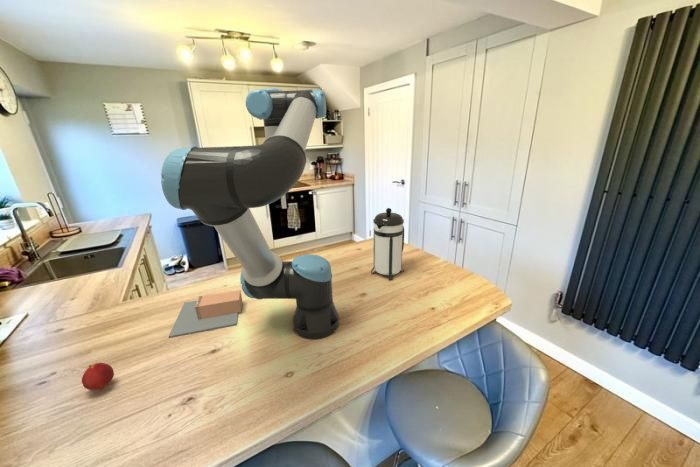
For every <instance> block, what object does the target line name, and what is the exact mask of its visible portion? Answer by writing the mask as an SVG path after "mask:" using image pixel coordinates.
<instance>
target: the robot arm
mask: <svg viewBox="0 0 700 467" xmlns="http://www.w3.org/2000/svg"><path fill="white" fill-rule="evenodd" d="M326 99H327V98H326V94H325V92H324V91H323V90H322V89H313V88H311V89H302V90H301V89H299V90H282V89H280V88H276V87H275V88H274V87H272V88H271V87H268V88H262V89H253V90H251V91H250V92H248V93H247V95H246V97H245V107H246V110H247V112H248V114H250V115H251V117H253V118H255V119H257V120H261V121H262V120H263V127H264V135H265V140H264V141H263V143H261V144H254V145H242V146H241V145H240V146H233V145H232V146H209V147H208V146H206V147H203V146H201V147H199V146H197V145H195V146H194V145H192V146H190V147H181V148H175V149H174V150H173V149H172V151H170V152H169V153H168V155H167V156H166V157H165V159H164V161H163V163H162V167H161V172H160V175H161V181H160V184H161V190H162V192H163V195H164V197H165V200H166V201H167V203H168V204H169V205H170V206H172V207H173V208H175V209H179V210H182V211H184V210H185V211H186V210H191V211H192V212H193V214H194V215H195V216H196V217H197V219H198V220H199V221H200V222H201V223H202V224H203V225H205V226H210V227H213V228H215V230H216V232H217V233H218V234H219V236H220V237H221V239H222V240H223V241H224V243H225V245H226V246H227V247H228V248H229V250H230V251H231V253H232V254H233V255H234V257H235V258H236V259H237V261H238V263H240V265H241V267H242V269H241V272H240V277H239V278H240V280H239V281H240V284H241V291H242V292H243V293H244V294H245V296H246V297H248V298H249V299H257V300H267V299H269V300H271V299H273V300H274V299H275V300H278V299H280V300H282V299H283V300H285V299H286V300H295V301H296V302H295V303H296V307H295V311H294V314H293V317H292V318H293V319H292V328H293V331H294V332H295V334H296V335H297V336H299V337H301V338H303V339H308V340H318V339H323V338H326V337H328V336H330V335H332V334H333V333H335V332H336V331H337V329H338V328H339V325H340V316H339V313H338V310H337V308H336V306H335V304H334V301H333V300H334V298H333V281H332V280H333V279H332V278H333V273H332V268H331V263H330V262H329V261H328V260H327V259H326V258H325V257H323V256H321V255H317V254H311V253H310V254H309V253H307V254H306V253H305V254H303V255H302V254H301V255H297V256H295V257H293V259H292V261H291V260H289V261H288V260H287V261H286V260H283V261H282V258H281V257H280V256H279V255H278V254H277V253H275V252H273V251H272V250H271V249H270V247H269V245H268V243H267V240H266V238H265V237H264V234H263V232H262V230H261V228H260V227H259V225H258V221H256V218H255V216H254V215H253V213H252V210H251V209H255V208H256V209H257V208H262V207H266V206H267V205H270V204H273V203H274V202H277V201H278V200H280V202H281V203H280V204H281V209H287V208H288V207H287V200H288V199H289V198H290V197H289V196H290V195H289V191H290V190H292V188H294V186H295V185H296V184H297V183H298V182H299V180H300V179H301V177H302V175H303V173H304V170H305V169H306V168H305V167H306V164H307V155H306V148H307V146H308V142H309V139H310V136H311V133H312V130H313V126H314V123H315V120H316V119H322V118H325V117H326V116H327V100H326Z"/></svg>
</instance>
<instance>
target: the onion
mask: <svg viewBox="0 0 700 467" xmlns="http://www.w3.org/2000/svg"><path fill="white" fill-rule="evenodd" d="M114 375H115V373H114V368H113V367H112V366H111V365H110V364H108V363H106V362H92V363H90V364H89V365H88V368H87V369H86V370H85V371H84V373H83V375H82V376H81V384H82V386H83V387H84V389H87V390H89V391H98V390H103V389H105V388H106V387H107V386H108V385H109V384H111V382H112V380H113V378H114V377H115V376H114Z"/></svg>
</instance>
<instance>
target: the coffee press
mask: <svg viewBox="0 0 700 467" xmlns="http://www.w3.org/2000/svg"><path fill="white" fill-rule="evenodd" d="M392 211H393V210H392V209H391V208H390V207H387V208H386V210H385V212H380V213H378V214H376V215H375V217H374V219H373V267H372V269H371V270H370V273H371V275H373V274H372V273H373V272H374V274H376V273H378V274H381V275H384V276H387V277H388V280H389V281H393V275H396V274H399V273H401V271H403V273H404V272H405V270H404V268H403V267H402V266H403V251H404V246H405V227H404V223H405V220H404V218H403V216H402V215H401V214H399V213H397V212H392Z"/></svg>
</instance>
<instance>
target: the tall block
mask: <svg viewBox="0 0 700 467" xmlns="http://www.w3.org/2000/svg"><path fill="white" fill-rule="evenodd" d="M196 301H197V303H196V305H195V310H196V314H197V319H198V320H199V319H205V318H210V317H216V316H222V315H227V314H233V313H238V314H239V313H242V307H243V298H242V290H241V289H239V290H238V289H236V290H232V291H231V290H230V291H226V292H219V293H213V294H208V295H200V296H198V298H197V300H196Z"/></svg>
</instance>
